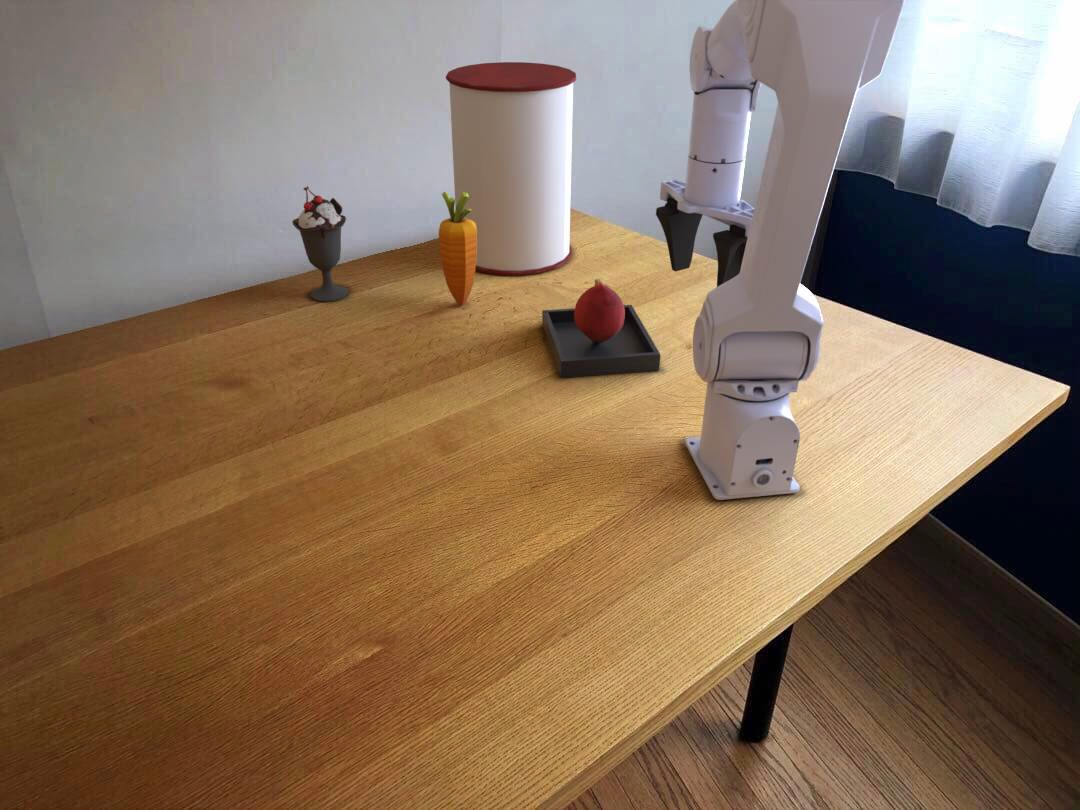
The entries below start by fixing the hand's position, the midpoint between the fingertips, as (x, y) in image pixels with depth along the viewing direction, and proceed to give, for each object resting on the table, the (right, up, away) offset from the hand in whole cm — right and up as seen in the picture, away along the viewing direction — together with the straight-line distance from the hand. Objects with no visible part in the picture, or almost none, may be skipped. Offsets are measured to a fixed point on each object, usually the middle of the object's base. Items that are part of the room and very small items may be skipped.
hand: (702, 280), depth 94 cm
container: (-22, +8, +32) cm, 40 cm away
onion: (-11, -7, +6) cm, 14 cm away
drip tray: (-11, -7, +7) cm, 15 cm away
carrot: (-28, -1, +17) cm, 33 cm away
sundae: (-46, +1, +19) cm, 50 cm away
